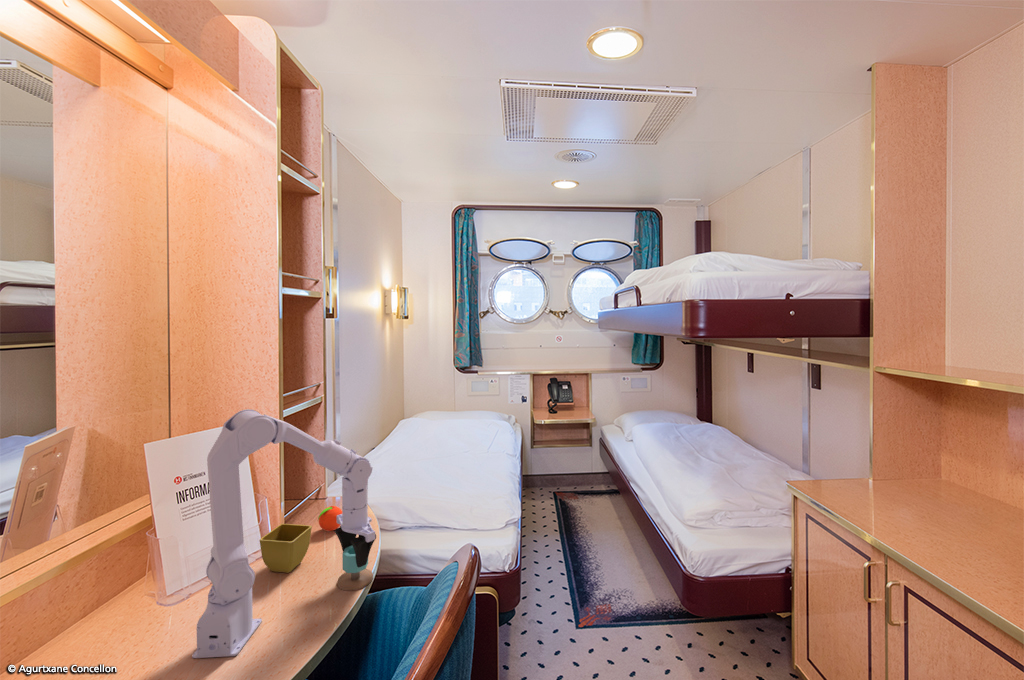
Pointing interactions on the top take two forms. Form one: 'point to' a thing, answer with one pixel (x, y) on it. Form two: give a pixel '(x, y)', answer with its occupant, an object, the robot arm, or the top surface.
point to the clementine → (329, 518)
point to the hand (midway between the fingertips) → (355, 560)
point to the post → (355, 580)
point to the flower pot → (285, 546)
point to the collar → (351, 561)
